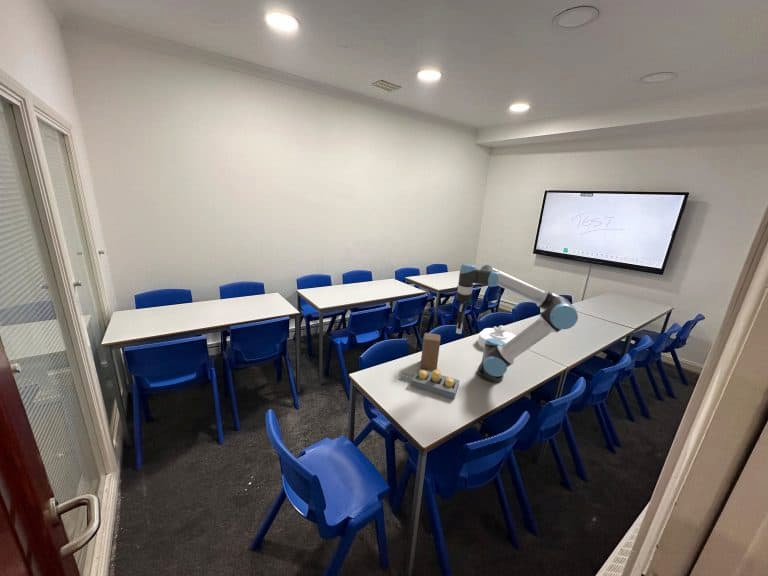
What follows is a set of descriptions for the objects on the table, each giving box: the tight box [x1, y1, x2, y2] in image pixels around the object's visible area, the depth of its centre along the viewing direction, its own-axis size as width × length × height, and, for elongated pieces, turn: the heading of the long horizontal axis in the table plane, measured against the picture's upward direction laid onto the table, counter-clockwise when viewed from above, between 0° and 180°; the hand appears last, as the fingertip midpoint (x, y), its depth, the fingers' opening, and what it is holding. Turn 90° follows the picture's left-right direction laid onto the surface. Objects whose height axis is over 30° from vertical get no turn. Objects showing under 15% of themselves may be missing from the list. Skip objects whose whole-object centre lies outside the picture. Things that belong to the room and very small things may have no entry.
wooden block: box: [419, 332, 441, 371], centre depth 184 cm, size 10×10×20 cm
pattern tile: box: [399, 372, 415, 384], centre depth 173 cm, size 7×7×1 cm
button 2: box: [431, 369, 442, 382], centre depth 165 cm, size 5×5×5 cm
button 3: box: [418, 369, 428, 380], centre depth 168 cm, size 5×5×5 cm
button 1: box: [445, 376, 455, 388], centre depth 163 cm, size 5×5×5 cm
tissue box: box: [477, 324, 517, 349], centre depth 217 cm, size 25×25×16 cm
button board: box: [410, 368, 460, 400], centre depth 166 cm, size 24×13×4 cm, turn 66°
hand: (458, 332), depth 166 cm, fingers closed
